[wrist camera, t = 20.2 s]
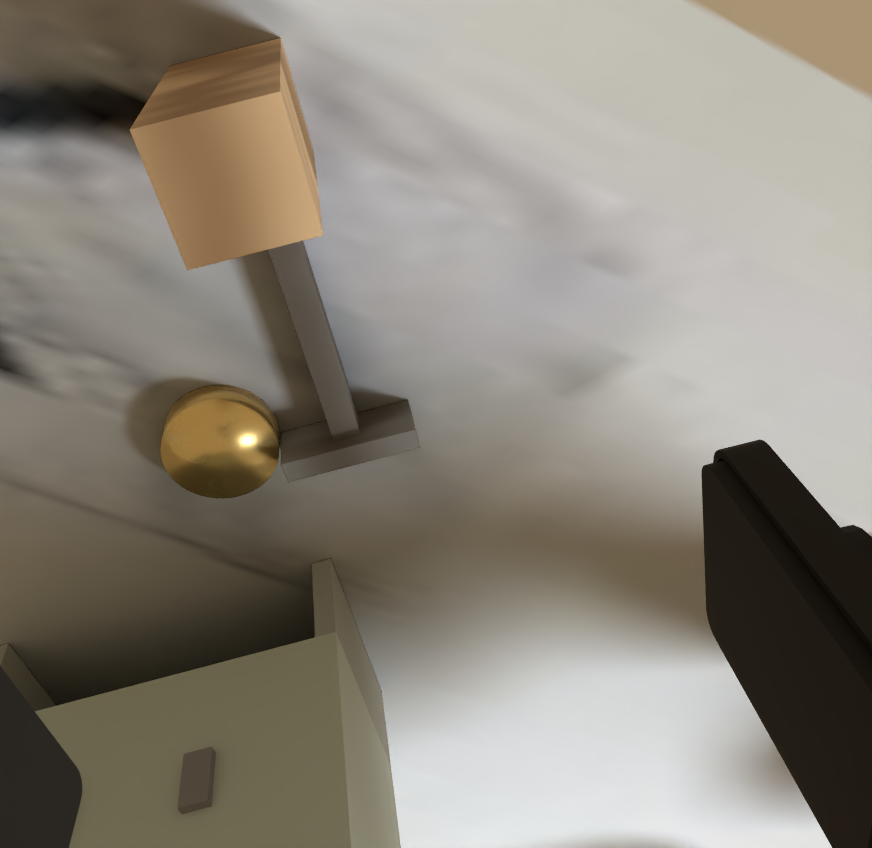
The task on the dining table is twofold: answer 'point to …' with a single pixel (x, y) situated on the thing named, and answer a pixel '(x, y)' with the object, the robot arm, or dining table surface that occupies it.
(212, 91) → the tan block with rod
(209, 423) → the gold metal dome
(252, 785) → the miniature cabinet
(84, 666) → the dining table surface
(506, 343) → the dining table surface
